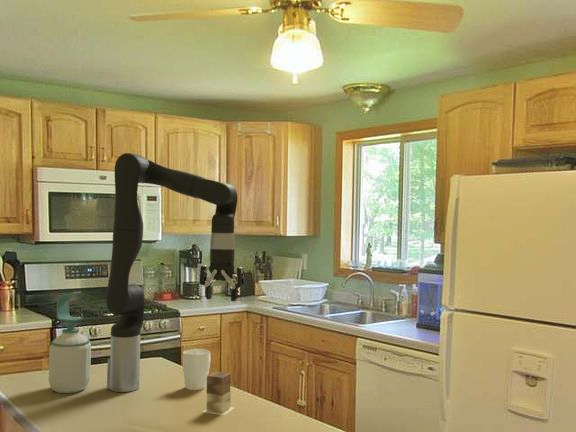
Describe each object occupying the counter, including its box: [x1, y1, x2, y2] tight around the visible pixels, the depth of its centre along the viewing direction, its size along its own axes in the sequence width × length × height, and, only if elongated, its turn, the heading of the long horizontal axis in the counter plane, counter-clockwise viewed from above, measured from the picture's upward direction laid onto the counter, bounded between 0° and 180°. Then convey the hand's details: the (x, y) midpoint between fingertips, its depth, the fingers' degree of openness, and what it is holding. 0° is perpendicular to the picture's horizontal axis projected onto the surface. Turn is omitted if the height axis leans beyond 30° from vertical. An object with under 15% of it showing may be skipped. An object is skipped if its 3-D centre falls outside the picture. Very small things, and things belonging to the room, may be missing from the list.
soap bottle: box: [48, 290, 92, 394], centre depth 183 cm, size 12×12×31 cm
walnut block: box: [206, 371, 232, 396], centre depth 165 cm, size 5×5×5 cm
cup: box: [181, 348, 212, 391], centre depth 187 cm, size 9×9×12 cm
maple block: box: [206, 390, 232, 414], centre depth 165 cm, size 5×5×5 cm
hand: (221, 300), depth 178 cm, fingers open, 8 cm apart
